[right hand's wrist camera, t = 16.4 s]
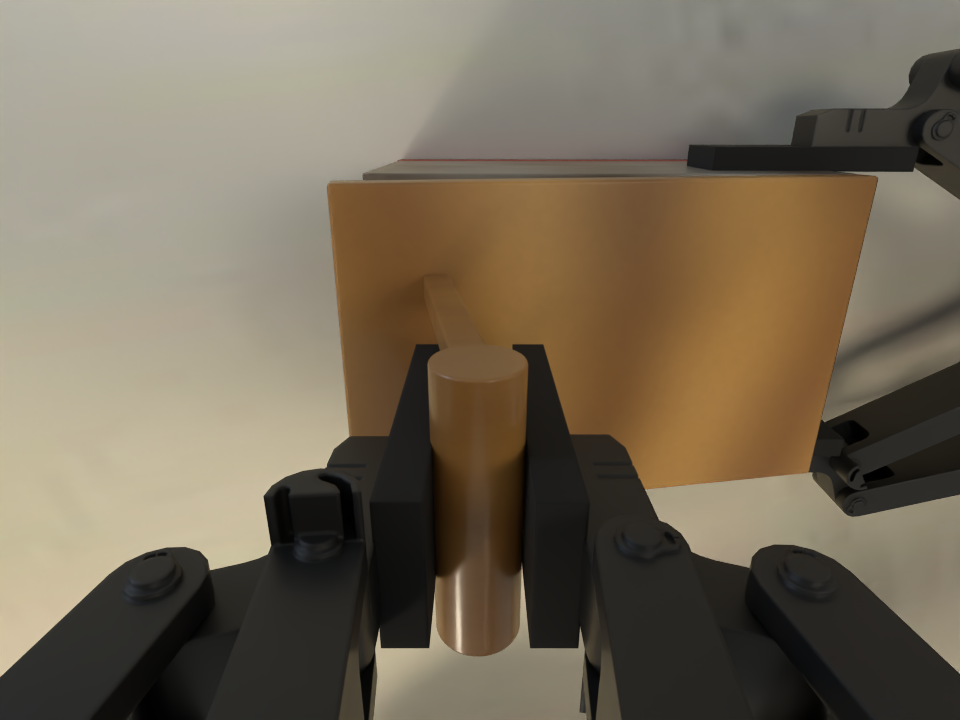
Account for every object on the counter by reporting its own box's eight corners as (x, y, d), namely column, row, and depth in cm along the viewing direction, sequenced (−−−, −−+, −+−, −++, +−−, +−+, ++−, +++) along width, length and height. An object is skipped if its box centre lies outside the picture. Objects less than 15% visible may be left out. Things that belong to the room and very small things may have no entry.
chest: (410, 366, 30) (381, 457, 22) (400, 159, 26) (361, 172, 18) (707, 367, 30) (794, 459, 21) (739, 159, 26) (858, 173, 18)
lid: (357, 502, 19) (346, 764, 11) (329, 180, 15) (282, 232, 7) (792, 460, 21) (1035, 651, 14) (856, 173, 18) (1238, 208, 10)
